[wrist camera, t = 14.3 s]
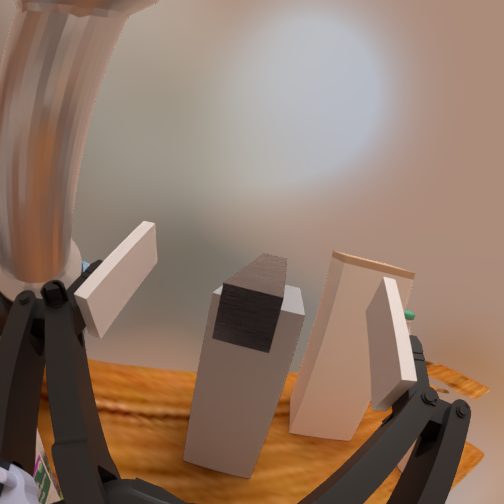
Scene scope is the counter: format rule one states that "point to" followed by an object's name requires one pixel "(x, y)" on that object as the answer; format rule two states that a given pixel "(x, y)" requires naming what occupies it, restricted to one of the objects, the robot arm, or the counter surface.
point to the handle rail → (252, 304)
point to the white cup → (405, 458)
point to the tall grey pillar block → (239, 392)
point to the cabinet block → (340, 350)
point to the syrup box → (45, 476)
